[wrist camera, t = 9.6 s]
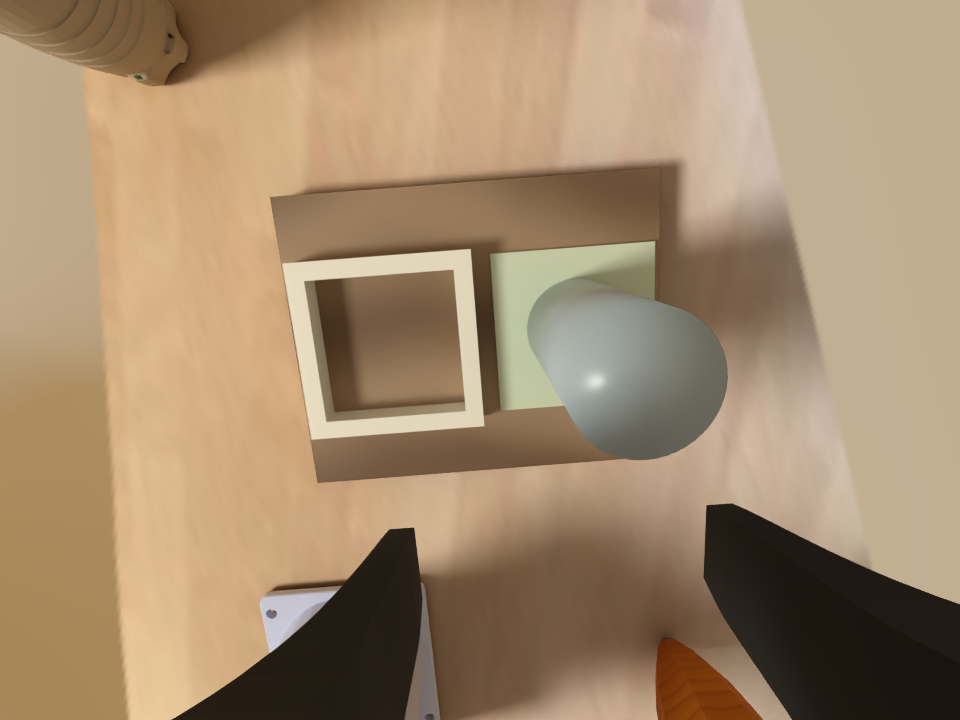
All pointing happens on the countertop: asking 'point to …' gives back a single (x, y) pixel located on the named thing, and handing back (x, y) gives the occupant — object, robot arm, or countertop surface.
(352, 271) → the cream square frame
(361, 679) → the robot arm
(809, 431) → the countertop surface
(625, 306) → the grey-blue cylinder
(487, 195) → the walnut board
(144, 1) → the handle
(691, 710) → the carrot
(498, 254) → the pad
